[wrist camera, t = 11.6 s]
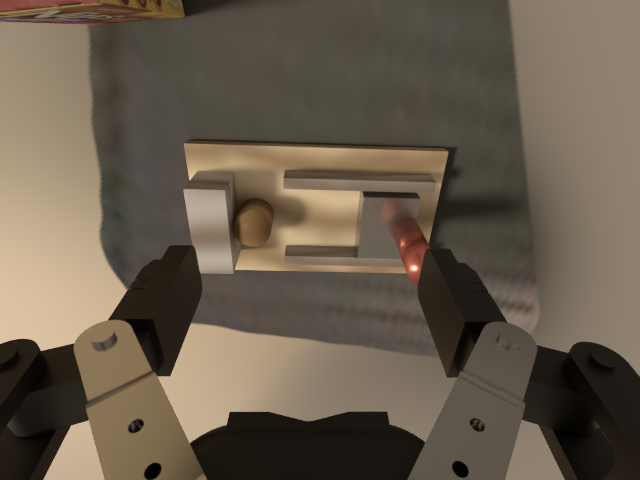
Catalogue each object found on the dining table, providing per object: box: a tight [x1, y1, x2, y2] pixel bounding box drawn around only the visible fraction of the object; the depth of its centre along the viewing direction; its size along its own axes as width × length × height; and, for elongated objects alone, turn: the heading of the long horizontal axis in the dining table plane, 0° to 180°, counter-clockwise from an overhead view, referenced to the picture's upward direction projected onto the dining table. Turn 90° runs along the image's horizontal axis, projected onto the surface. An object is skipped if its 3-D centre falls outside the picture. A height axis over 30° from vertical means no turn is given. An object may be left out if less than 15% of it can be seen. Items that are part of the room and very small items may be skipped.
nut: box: [233, 198, 274, 247], centre depth 41 cm, size 4×4×4 cm
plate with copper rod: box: [355, 191, 431, 285], centre depth 38 cm, size 8×6×11 cm
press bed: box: [183, 140, 449, 274], centre depth 41 cm, size 16×28×6 cm, turn 88°
